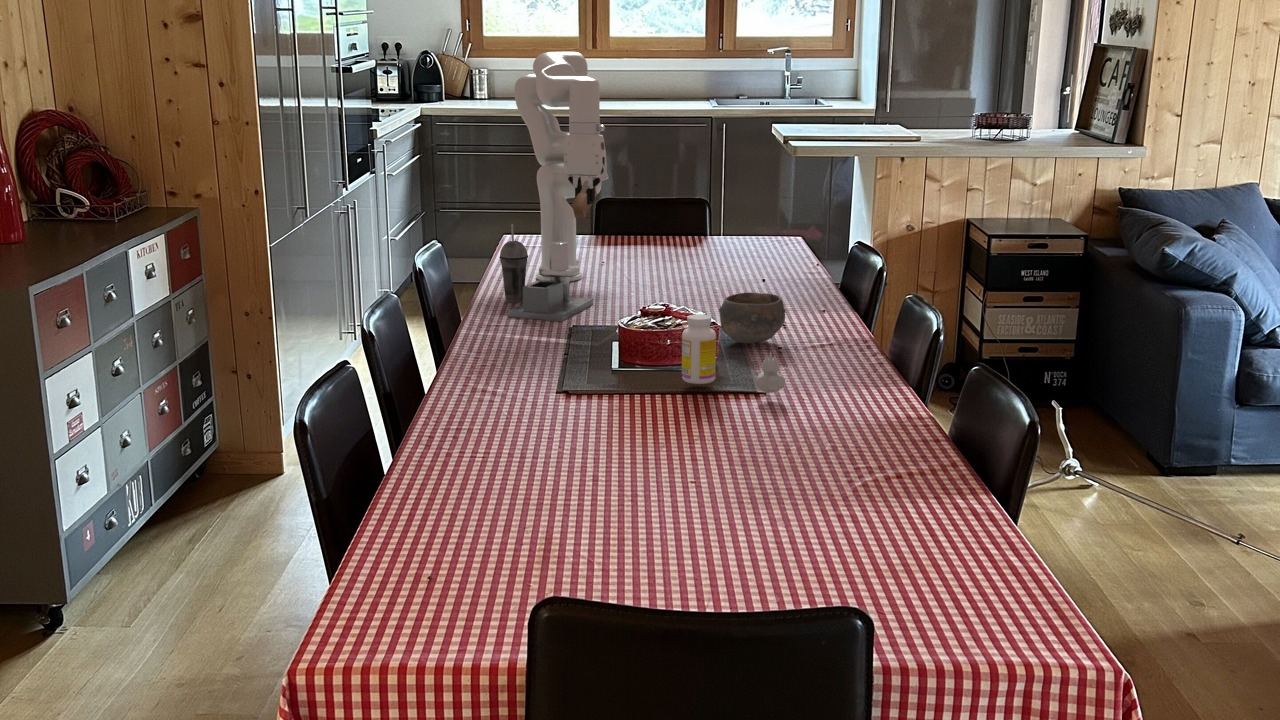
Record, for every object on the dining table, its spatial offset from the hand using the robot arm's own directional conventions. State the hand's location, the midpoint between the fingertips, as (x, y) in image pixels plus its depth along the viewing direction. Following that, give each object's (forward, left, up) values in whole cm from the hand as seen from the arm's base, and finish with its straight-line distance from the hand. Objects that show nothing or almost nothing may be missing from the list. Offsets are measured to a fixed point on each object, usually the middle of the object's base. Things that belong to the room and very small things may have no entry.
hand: (585, 203), depth 306 cm
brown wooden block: (+5, 0, -2) cm, 5 cm away
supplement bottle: (+62, +49, -25) cm, 83 cm away
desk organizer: (+15, -3, -25) cm, 29 cm away
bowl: (+28, +51, -25) cm, 63 cm away
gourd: (+66, +64, -25) cm, 95 cm away
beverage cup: (+9, -16, -25) cm, 31 cm away
